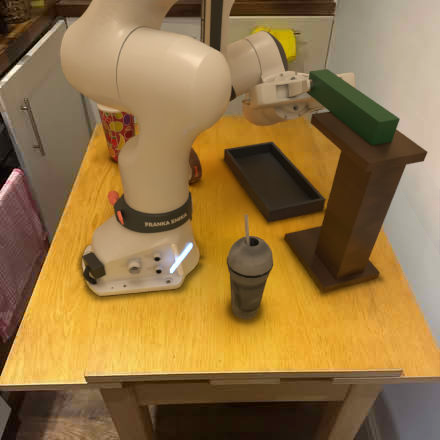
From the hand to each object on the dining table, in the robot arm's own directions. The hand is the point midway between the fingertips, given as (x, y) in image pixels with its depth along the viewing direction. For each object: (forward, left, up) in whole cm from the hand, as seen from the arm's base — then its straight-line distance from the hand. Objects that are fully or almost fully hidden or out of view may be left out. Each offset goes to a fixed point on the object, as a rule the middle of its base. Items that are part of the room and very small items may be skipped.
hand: (323, 82), depth 69 cm
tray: (0, +14, -28) cm, 32 cm away
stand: (0, -14, -28) cm, 31 cm away
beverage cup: (-21, -21, -28) cm, 41 cm away
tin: (-19, +25, -28) cm, 42 cm away
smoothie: (-31, +37, -28) cm, 56 cm away
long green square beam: (0, -8, -2) cm, 8 cm away
